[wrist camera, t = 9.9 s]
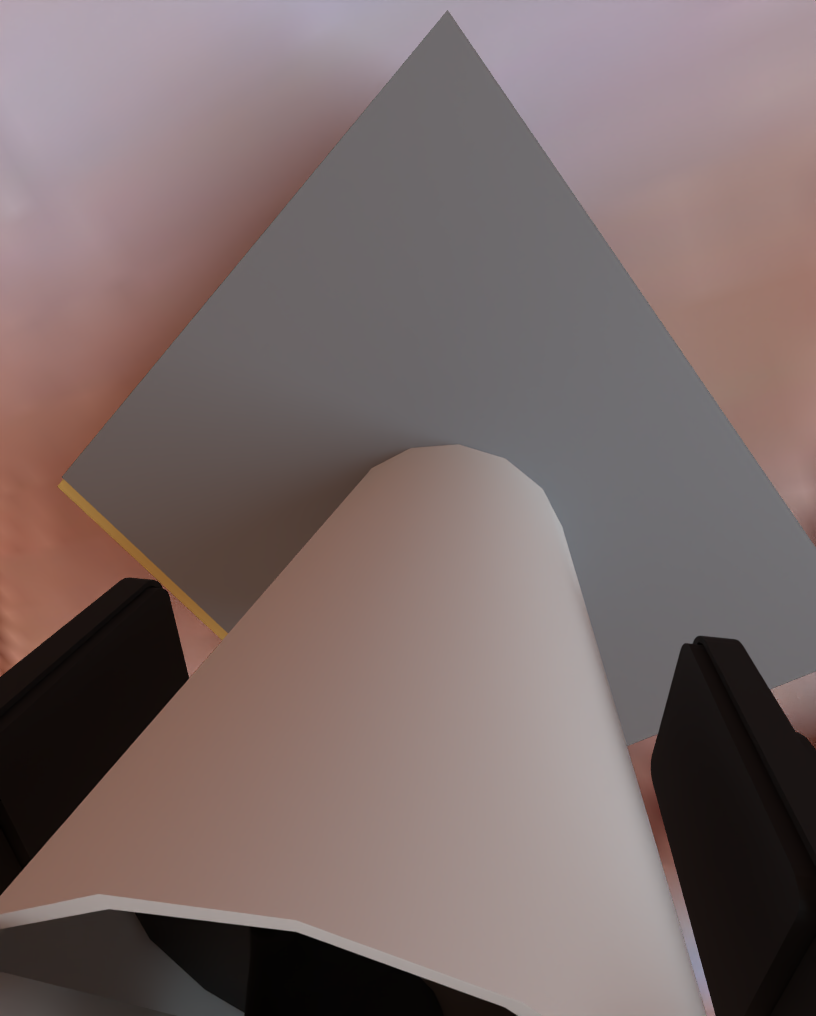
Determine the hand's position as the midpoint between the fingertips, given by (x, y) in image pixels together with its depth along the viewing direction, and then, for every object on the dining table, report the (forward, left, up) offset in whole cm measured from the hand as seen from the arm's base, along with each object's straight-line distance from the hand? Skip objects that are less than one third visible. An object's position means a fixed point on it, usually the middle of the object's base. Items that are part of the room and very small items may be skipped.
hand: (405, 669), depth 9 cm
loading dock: (0, 0, -9) cm, 9 cm away
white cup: (0, 0, -4) cm, 4 cm away
